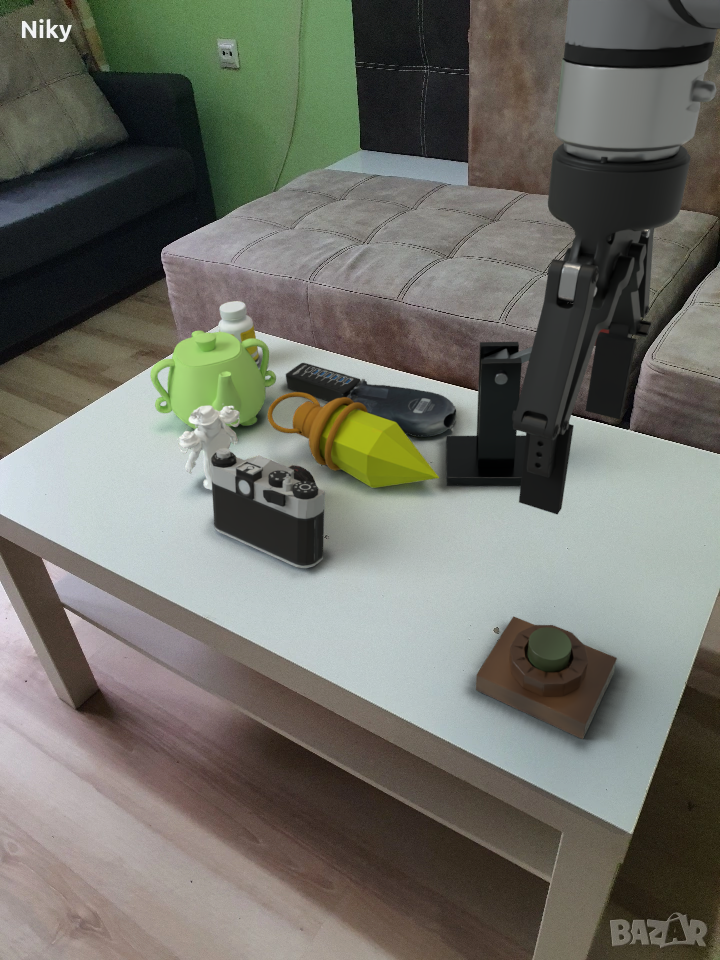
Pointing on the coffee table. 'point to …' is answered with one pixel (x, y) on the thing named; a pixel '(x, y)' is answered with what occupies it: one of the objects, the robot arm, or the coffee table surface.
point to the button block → (546, 679)
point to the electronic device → (407, 408)
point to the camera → (269, 507)
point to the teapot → (214, 377)
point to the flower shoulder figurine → (208, 436)
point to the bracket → (491, 426)
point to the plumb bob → (356, 441)
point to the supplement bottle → (238, 324)
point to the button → (549, 649)
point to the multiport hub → (320, 382)
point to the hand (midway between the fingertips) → (574, 455)
